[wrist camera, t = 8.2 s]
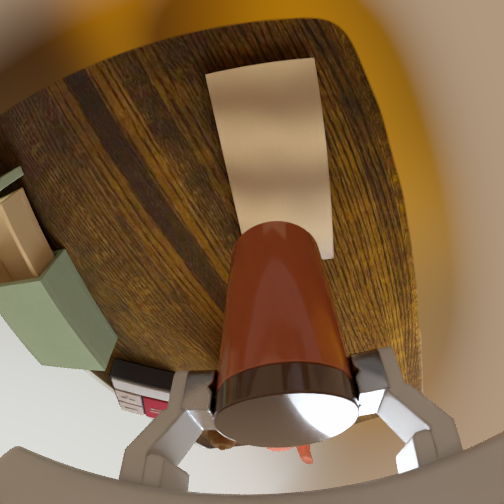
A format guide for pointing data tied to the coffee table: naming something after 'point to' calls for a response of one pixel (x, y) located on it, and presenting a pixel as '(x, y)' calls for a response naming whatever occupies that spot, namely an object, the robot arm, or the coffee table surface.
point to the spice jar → (281, 344)
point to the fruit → (220, 440)
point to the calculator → (141, 387)
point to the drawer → (20, 236)
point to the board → (275, 145)
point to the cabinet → (58, 317)
